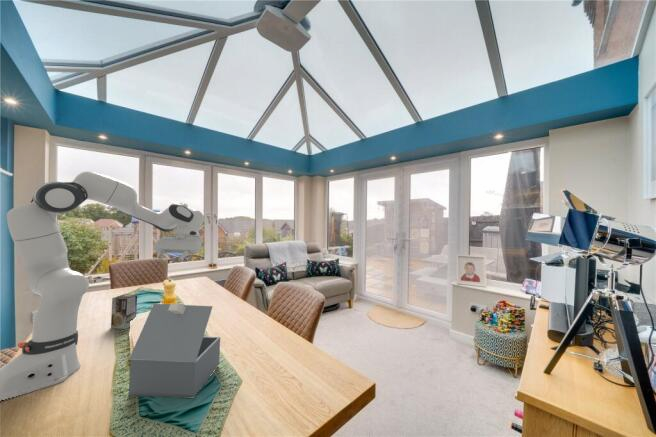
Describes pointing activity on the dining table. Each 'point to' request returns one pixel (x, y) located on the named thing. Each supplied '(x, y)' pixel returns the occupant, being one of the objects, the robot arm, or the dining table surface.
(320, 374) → the dining table surface
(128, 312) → the coffee box
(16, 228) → the robot arm
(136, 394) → the carton
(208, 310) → the grey box lid
